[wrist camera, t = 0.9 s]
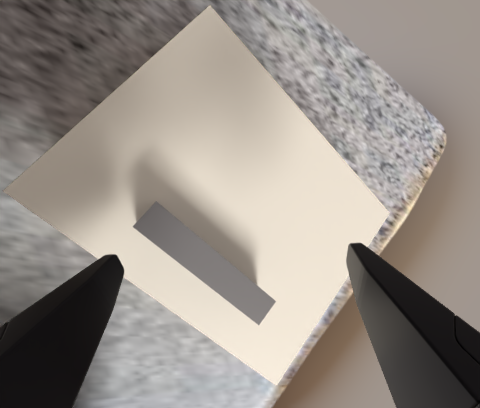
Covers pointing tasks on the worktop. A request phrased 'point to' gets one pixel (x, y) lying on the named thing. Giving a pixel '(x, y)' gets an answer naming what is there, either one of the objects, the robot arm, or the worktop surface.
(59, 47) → the worktop surface
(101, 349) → the worktop surface
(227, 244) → the lid
